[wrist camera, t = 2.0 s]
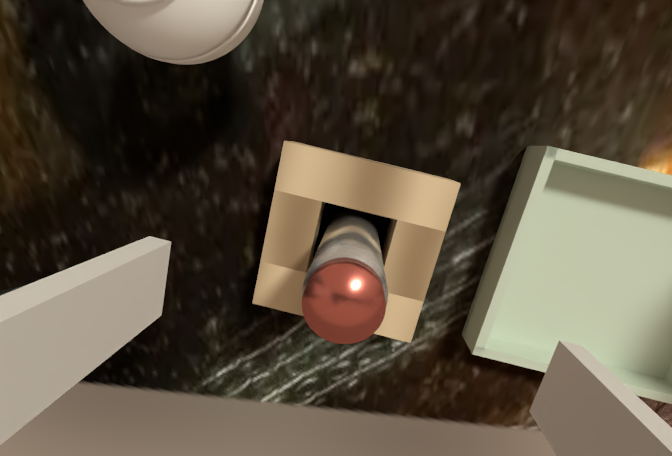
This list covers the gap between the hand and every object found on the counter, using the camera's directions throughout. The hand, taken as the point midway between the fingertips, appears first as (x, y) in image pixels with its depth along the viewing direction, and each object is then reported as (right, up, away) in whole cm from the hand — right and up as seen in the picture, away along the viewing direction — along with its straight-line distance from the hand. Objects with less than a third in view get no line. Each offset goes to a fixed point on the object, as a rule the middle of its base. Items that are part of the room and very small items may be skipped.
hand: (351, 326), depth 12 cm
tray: (+16, 0, +11) cm, 20 cm away
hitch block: (+1, +3, +12) cm, 12 cm away
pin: (+1, +3, +12) cm, 12 cm away
